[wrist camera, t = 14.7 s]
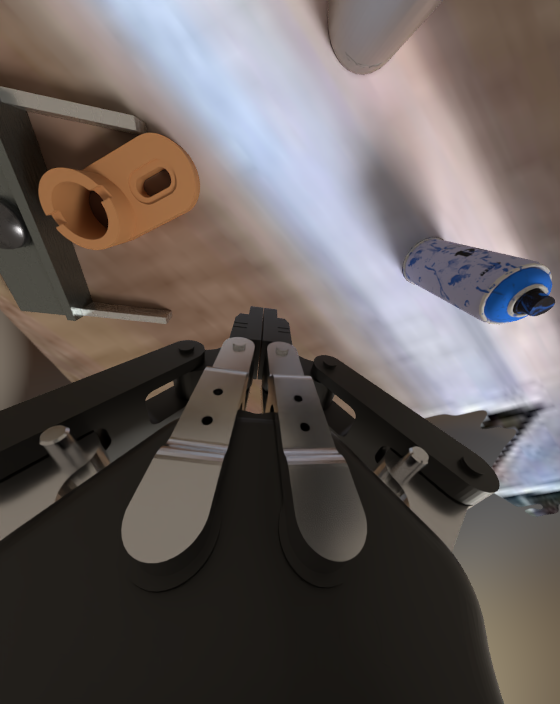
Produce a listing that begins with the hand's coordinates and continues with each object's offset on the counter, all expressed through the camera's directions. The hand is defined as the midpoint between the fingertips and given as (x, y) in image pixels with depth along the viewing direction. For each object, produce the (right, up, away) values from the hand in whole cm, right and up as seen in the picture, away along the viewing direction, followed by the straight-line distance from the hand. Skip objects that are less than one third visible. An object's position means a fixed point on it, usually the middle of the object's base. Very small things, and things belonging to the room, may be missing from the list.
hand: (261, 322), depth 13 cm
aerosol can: (+27, +14, +26) cm, 40 cm away
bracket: (-19, +21, +19) cm, 34 cm away
